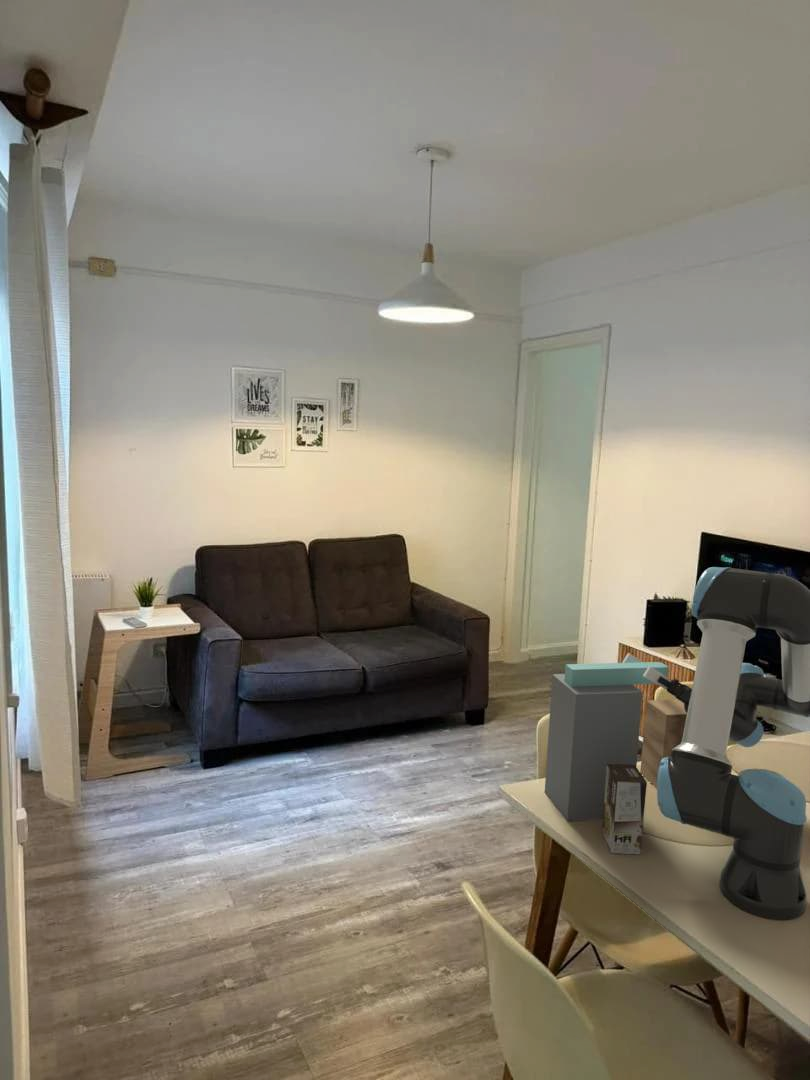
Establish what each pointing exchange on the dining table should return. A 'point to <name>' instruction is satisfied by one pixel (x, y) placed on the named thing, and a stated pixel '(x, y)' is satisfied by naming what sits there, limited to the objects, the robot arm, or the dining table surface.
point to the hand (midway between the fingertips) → (636, 664)
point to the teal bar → (611, 673)
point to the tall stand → (588, 743)
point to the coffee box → (624, 808)
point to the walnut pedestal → (661, 734)
